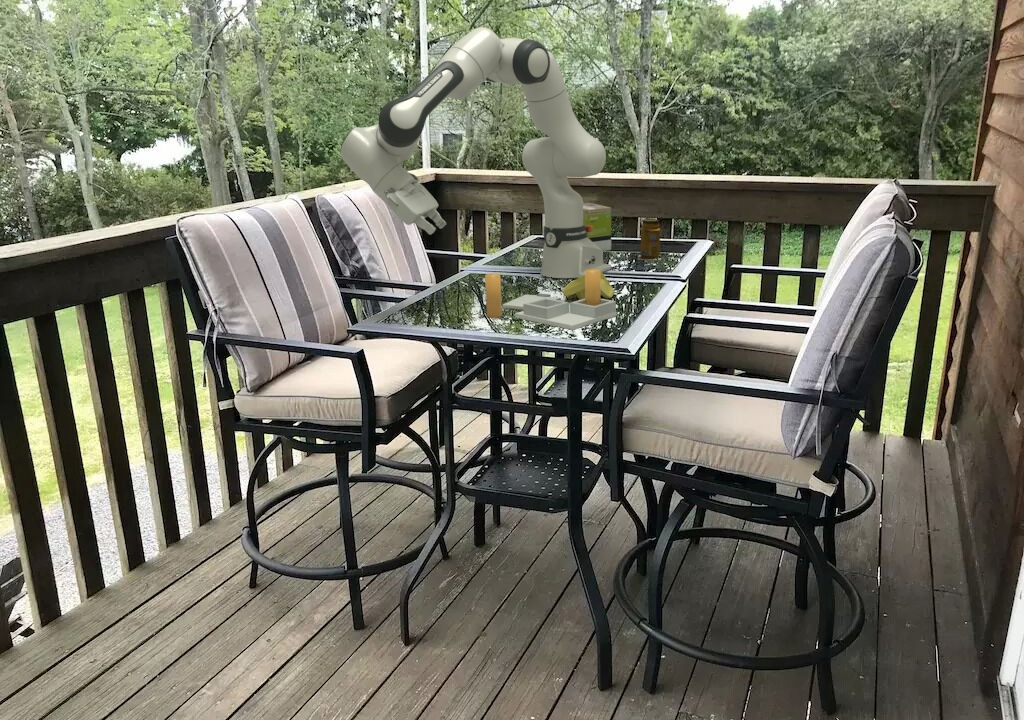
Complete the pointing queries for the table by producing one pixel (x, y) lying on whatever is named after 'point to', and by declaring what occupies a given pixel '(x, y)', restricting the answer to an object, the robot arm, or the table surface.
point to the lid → (526, 300)
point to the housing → (572, 307)
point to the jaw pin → (493, 295)
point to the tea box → (598, 224)
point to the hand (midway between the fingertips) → (438, 229)
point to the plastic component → (578, 288)
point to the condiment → (650, 240)
